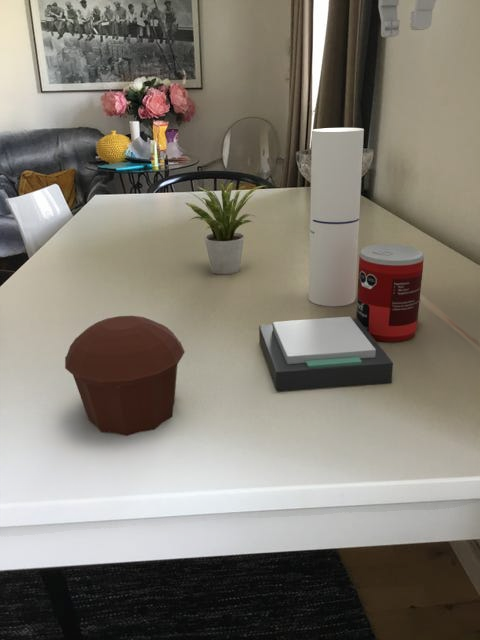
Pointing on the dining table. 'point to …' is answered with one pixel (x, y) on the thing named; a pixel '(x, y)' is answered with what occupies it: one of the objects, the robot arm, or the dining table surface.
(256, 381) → the dining table surface
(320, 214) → the cylindrical container
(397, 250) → the canned food
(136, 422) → the muffin
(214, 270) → the house plant
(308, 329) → the kitchen scale
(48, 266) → the dining table surface
